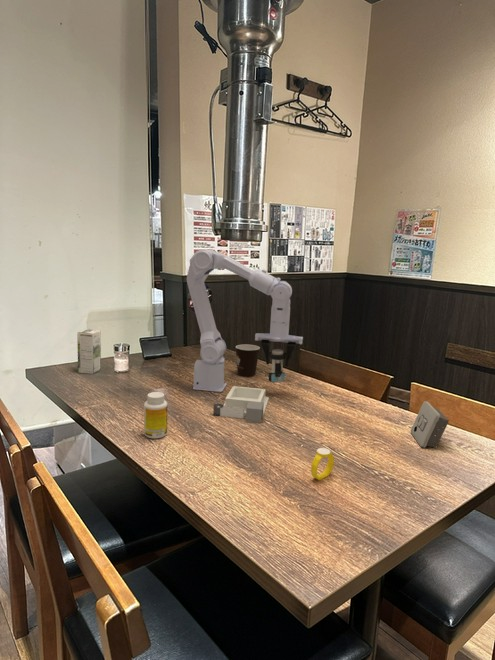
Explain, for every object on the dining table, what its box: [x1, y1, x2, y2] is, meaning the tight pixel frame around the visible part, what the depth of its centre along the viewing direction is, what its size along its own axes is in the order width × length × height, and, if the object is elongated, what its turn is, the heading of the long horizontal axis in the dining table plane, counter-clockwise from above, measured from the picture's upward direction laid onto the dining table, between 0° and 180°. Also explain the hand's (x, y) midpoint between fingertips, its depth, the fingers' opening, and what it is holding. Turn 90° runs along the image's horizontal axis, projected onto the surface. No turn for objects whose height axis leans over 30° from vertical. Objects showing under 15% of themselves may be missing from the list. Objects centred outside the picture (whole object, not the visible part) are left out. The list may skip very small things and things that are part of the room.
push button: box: [268, 348, 288, 384], centre depth 135 cm, size 7×5×10 cm
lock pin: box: [212, 403, 246, 420], centre depth 119 cm, size 8×3×3 cm, turn 80°
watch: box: [310, 447, 335, 481], centre depth 89 cm, size 6×3×6 cm, turn 132°
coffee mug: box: [235, 343, 261, 378], centre depth 157 cm, size 12×9×10 cm
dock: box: [223, 385, 270, 424], centre depth 125 cm, size 12×19×4 cm, turn 171°
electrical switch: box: [410, 400, 450, 449], centre depth 108 cm, size 9×5×9 cm, turn 176°
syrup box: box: [76, 328, 102, 375], centre depth 150 cm, size 6×6×14 cm
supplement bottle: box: [143, 391, 168, 439], centre depth 105 cm, size 6×6×10 cm
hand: (277, 364), depth 135 cm, fingers closed on push button, 5 cm apart
